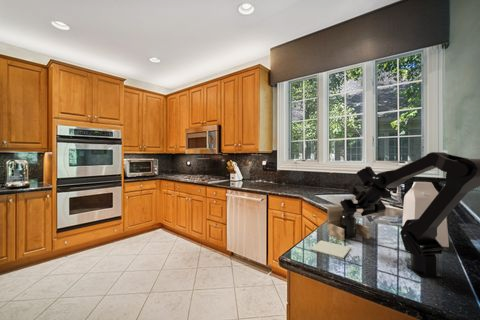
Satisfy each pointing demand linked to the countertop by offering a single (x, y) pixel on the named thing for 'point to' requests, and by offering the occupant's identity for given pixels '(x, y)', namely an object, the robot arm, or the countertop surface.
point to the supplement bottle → (348, 225)
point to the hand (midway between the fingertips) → (353, 215)
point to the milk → (423, 207)
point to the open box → (334, 224)
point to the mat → (331, 249)
